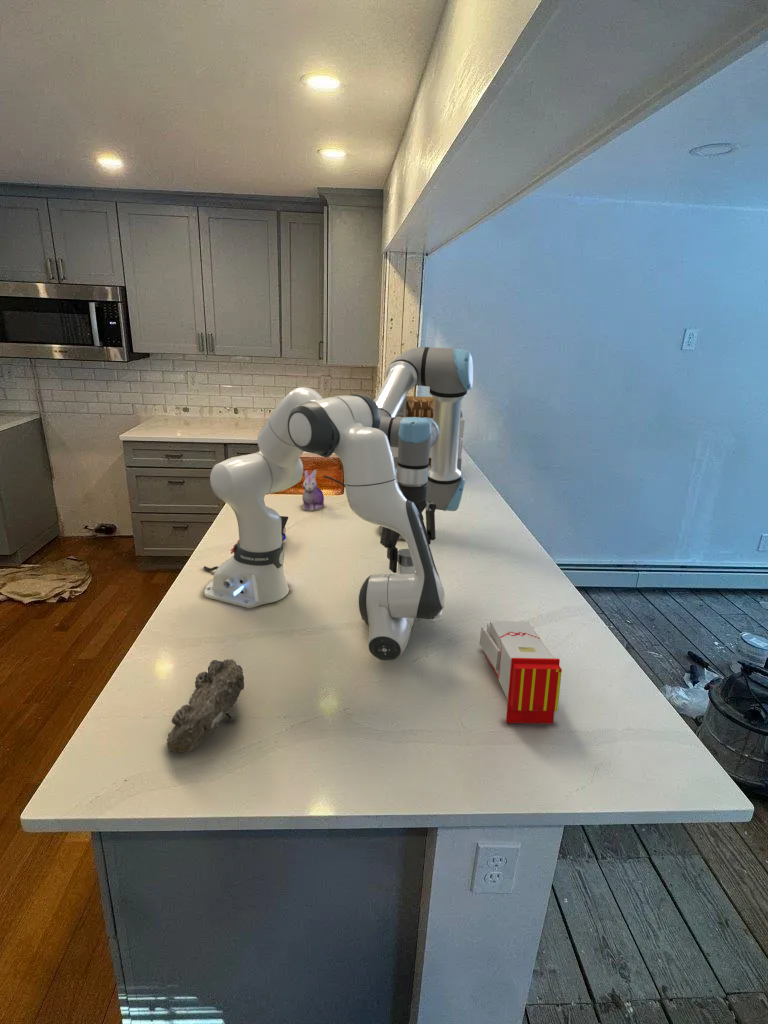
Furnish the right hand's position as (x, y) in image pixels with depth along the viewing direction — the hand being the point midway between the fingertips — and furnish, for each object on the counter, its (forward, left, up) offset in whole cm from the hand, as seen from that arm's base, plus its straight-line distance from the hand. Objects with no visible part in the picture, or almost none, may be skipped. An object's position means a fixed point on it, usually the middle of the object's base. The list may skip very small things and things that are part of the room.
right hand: (406, 568), depth 145 cm
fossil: (+8, -57, -12) cm, 59 cm away
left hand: (-1, +1, -6) cm, 6 cm away
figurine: (-81, +26, -12) cm, 86 cm away
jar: (0, 0, -12) cm, 12 cm away
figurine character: (-58, -4, -12) cm, 59 cm away
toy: (+36, -1, -12) cm, 38 cm away
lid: (0, 0, +4) cm, 4 cm away
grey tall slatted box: (-94, +96, -12) cm, 135 cm away
